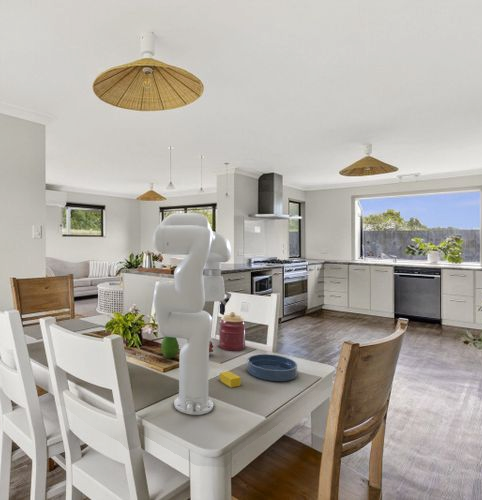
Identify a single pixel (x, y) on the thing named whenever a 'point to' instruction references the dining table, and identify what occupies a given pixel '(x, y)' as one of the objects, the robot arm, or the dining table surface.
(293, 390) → the dining table surface
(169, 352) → the avocado
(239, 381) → the sponge
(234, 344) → the kitchen canister
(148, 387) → the dining table surface
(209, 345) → the dragon fruit
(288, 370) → the bowl
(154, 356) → the dining table surface
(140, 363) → the dining table surface
